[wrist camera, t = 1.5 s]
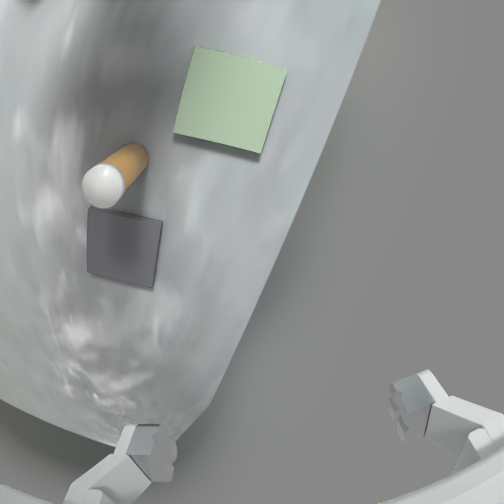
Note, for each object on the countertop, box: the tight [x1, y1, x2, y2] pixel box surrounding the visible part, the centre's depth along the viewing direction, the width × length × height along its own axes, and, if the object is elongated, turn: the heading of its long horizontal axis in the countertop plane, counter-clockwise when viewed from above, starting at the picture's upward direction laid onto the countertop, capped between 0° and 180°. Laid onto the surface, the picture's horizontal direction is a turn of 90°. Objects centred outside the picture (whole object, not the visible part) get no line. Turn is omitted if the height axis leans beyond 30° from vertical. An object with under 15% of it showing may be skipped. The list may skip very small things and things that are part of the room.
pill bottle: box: [82, 143, 149, 209], centre depth 38 cm, size 5×5×13 cm
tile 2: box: [173, 47, 287, 154], centre depth 40 cm, size 13×13×2 cm
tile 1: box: [87, 206, 163, 288], centre depth 51 cm, size 13×13×2 cm
